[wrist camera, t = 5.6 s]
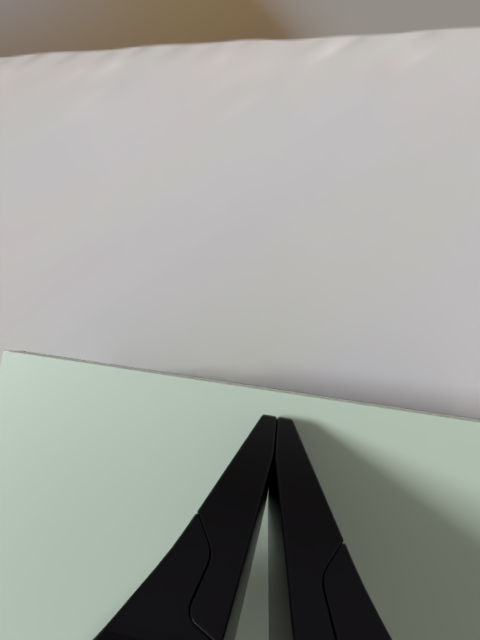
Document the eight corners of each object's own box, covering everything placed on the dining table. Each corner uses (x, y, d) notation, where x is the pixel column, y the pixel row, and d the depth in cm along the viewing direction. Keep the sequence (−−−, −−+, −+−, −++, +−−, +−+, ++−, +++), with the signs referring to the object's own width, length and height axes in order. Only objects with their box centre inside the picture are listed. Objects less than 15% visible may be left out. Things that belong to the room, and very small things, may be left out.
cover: (579, 805, 8) (610, 851, 8) (-35, 639, 10) (-60, 662, 10) (593, 436, 9) (623, 444, 8) (22, 350, 11) (3, 350, 10)
